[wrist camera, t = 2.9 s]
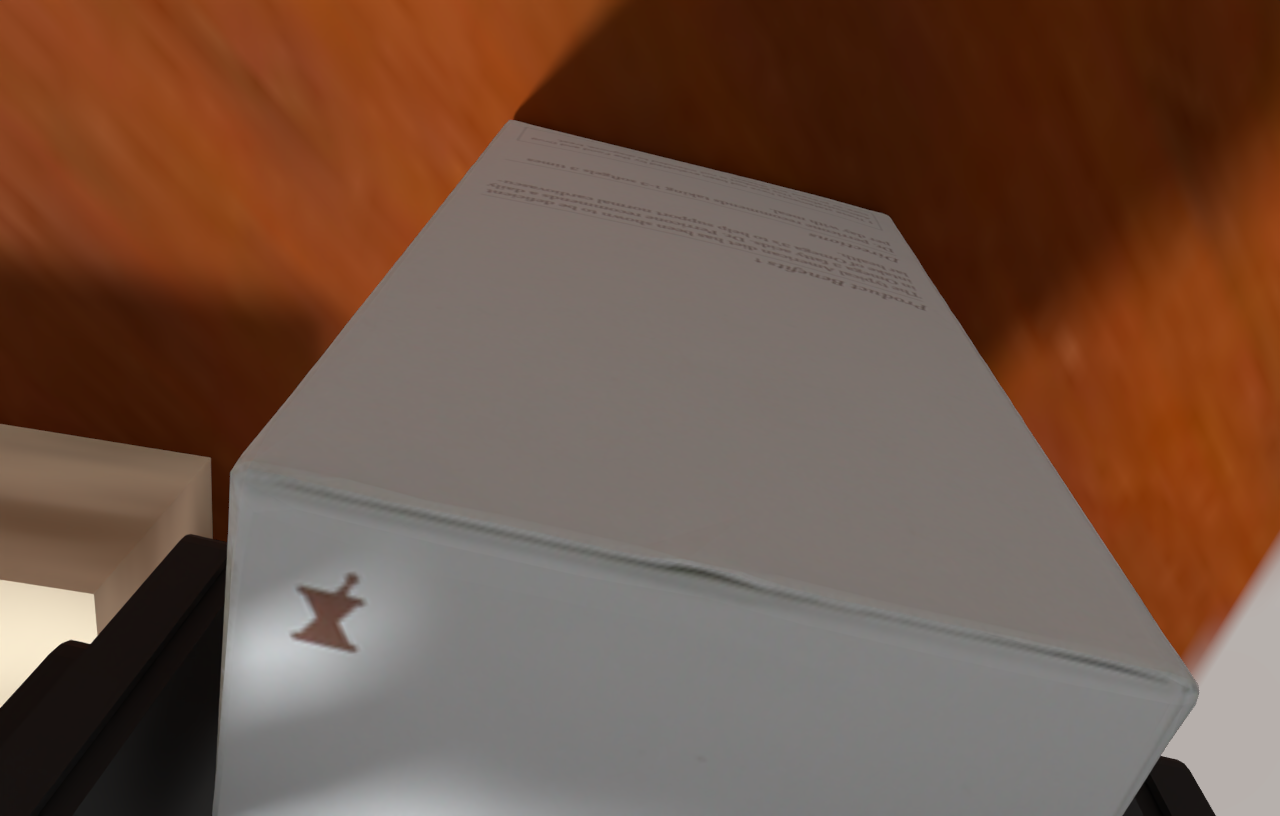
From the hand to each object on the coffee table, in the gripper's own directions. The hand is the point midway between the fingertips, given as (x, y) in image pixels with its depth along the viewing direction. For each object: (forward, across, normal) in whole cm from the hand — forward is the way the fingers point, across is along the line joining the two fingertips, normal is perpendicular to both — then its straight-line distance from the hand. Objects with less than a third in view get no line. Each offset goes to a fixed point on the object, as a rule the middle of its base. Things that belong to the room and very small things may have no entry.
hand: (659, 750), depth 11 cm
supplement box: (+10, +1, -1) cm, 10 cm away
